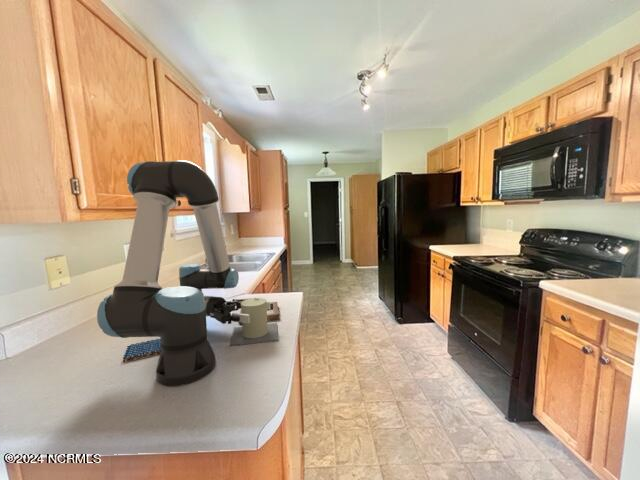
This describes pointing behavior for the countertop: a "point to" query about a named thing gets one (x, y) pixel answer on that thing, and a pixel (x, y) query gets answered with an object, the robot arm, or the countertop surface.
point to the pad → (241, 340)
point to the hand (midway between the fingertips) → (260, 311)
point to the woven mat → (142, 350)
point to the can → (255, 317)
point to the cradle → (272, 315)
